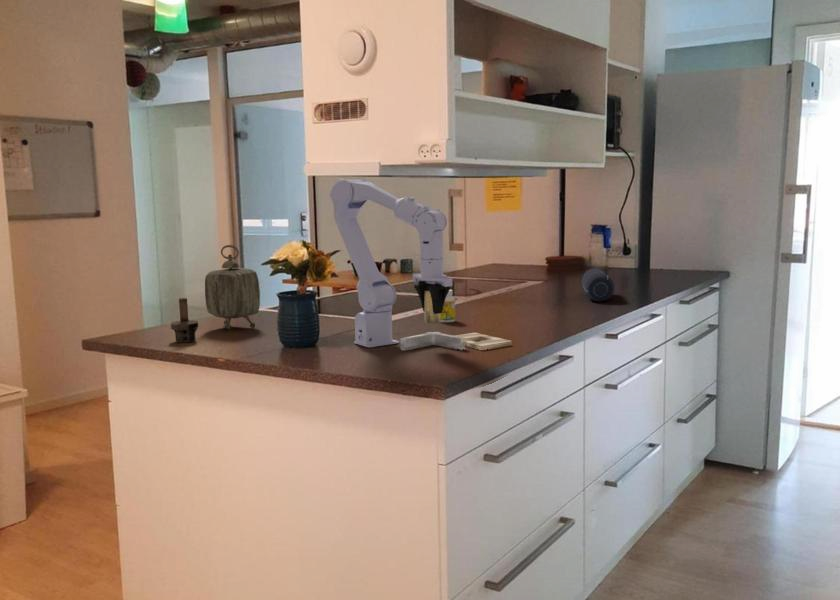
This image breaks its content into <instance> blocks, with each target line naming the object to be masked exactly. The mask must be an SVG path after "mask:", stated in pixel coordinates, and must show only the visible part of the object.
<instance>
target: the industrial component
mask: <svg viewBox="0 0 840 600" xmlns="http://www.w3.org/2000/svg"><path fill="white" fill-rule="evenodd" d="M178 306H179V320H178V321H172V322H171V323H170V329H171V330H173V331H174V332H175V333H174V334H175V342H178V343H190V342H196V332H197V330H198V328H199V321H198V320H190V319H189V309H188V308H189V306H188V298H187V297H180V298H178Z"/></svg>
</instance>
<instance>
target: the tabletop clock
mask: <svg viewBox="0 0 840 600" xmlns="http://www.w3.org/2000/svg"><path fill="white" fill-rule="evenodd" d="M227 248H232V249H234V250H235V251H236V255H235V256H232V254H228V255H225V254H223V253H224V252H223V251H224V250H225V249H227ZM239 252H240V251H239V249H238V248H237V247H236V246H235V245H232V244H226V245H224V246H223V247H222V248H221V249H220V254H221V256H222V257H223V258H224V259H226V260H225V261H224V262H223V264H222V266H221V269H217V270H211V271H209V272H208V273H207V274H206V275H205V279H204V295H205V296H204V297H205V298H204V299H205V307H206V310H207V313H209V314H210V315H212V316H214V317H217V318H222V319H224V320H223V324H224V326H225V329H226V330H227V331H228V330H230V329H232V325H231V320H232V319H239V318H243V319H245V320H246V321H247V322H248V323H249V326H250V328H251V329H253V328H255V327H256V323H255V322H252V321H251V319H250V317H249V316H253V315H257V314H259V310H260V307H261V306H260V305H261V292H260V282H259V281H260V280H259V277H258V273H257V272H256V271H255V270H253V269H251V268H244V267H240V265H239V263H238V262H237V261H236V260H235V259H237V258H238V257H239V254H240V253H239Z"/></svg>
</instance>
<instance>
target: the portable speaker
mask: <svg viewBox="0 0 840 600" xmlns="http://www.w3.org/2000/svg"><path fill="white" fill-rule="evenodd" d="M581 284H582V285H581V286H582V288H583V290H584V292H585V293H586V295H587V296H588V298H589V299H590V300H592V301H594V302H600V303H601V302H604V301H608V300H609V299H610V298H611V297H612V296H613V294H614V292H615V284H614V281H613V279H612V278H611V277H610V276H609V274H608V273H607V272H606V271H605V270H604V269H601V268H599V267H598V268H595V267H594V268H590V269H589V270H587V271H586V272H584V274H583V276H582V277H581Z"/></svg>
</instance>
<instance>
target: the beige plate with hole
mask: <svg viewBox="0 0 840 600" xmlns="http://www.w3.org/2000/svg"><path fill="white" fill-rule="evenodd" d="M455 336H459V337H465V346H466V347H465V348H469V347H470V349H473V348H474V349H473V350H477V349H478V350H477V351H481V350H482V351H487V349H488V350H492V349H499V348H505V347H511V346H512V344H513V341H512V340H510V339H505V338H501V337H497V336H491V335H487V334H482V333H479V332H471V333H470V332H469V333H464V334H463V333H462V334H456V335H455Z"/></svg>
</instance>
